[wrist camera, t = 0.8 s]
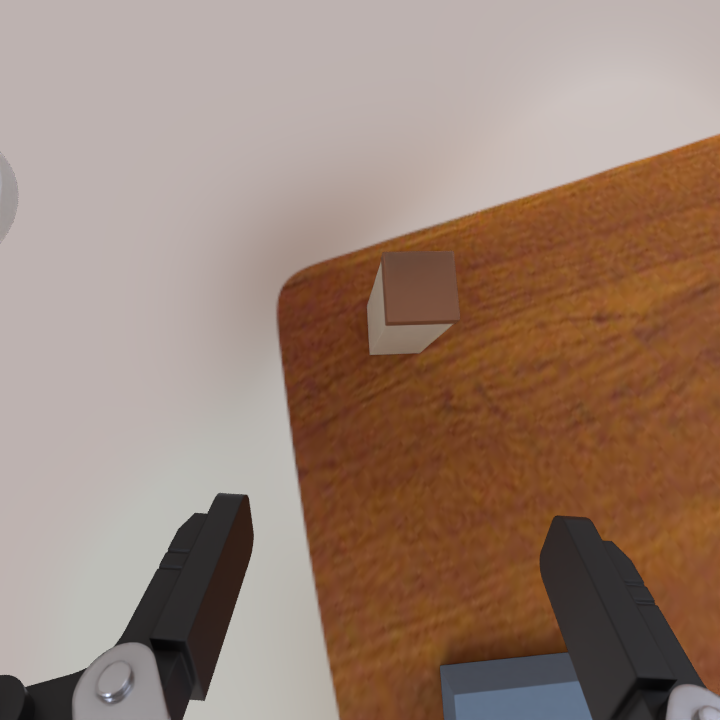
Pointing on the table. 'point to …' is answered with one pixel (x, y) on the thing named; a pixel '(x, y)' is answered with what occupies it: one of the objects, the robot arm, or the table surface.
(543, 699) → the blue square frame
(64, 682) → the robot arm
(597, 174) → the table surface
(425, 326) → the brown square block
